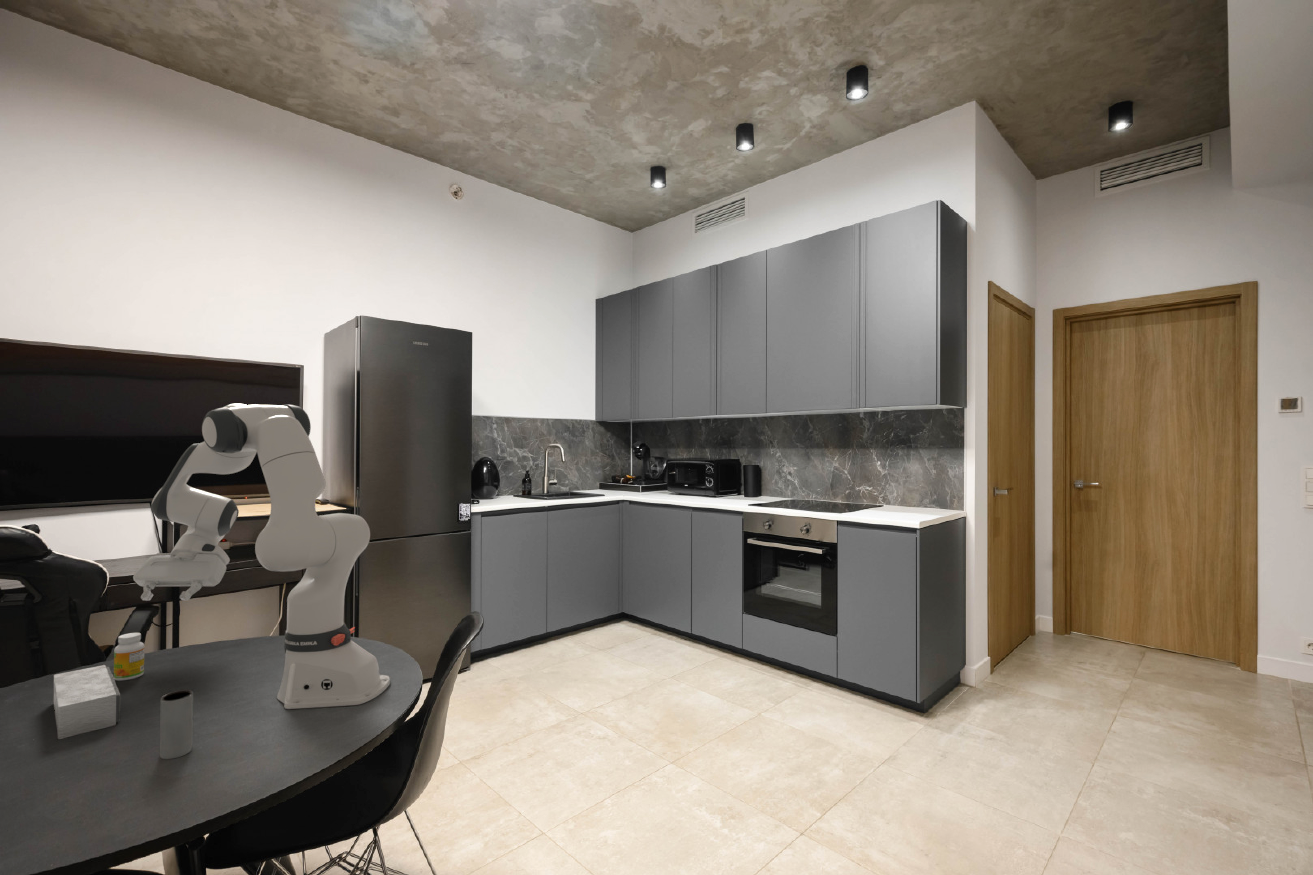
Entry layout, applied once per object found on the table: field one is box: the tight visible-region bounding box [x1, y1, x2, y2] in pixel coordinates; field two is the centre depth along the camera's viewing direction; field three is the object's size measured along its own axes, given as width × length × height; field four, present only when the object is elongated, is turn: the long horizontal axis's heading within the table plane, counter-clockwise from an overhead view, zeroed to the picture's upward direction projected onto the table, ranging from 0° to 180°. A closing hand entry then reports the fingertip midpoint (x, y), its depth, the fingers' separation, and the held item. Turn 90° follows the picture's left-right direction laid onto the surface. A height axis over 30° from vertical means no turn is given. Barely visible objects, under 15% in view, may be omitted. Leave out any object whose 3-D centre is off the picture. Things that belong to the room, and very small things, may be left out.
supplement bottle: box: [113, 632, 145, 681], centre depth 142 cm, size 5×5×10 cm
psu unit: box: [53, 664, 121, 740], centre depth 123 cm, size 22×9×6 cm, turn 47°
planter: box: [159, 689, 194, 760], centre depth 108 cm, size 4×4×10 cm
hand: (164, 599), depth 153 cm, fingers open, 8 cm apart
